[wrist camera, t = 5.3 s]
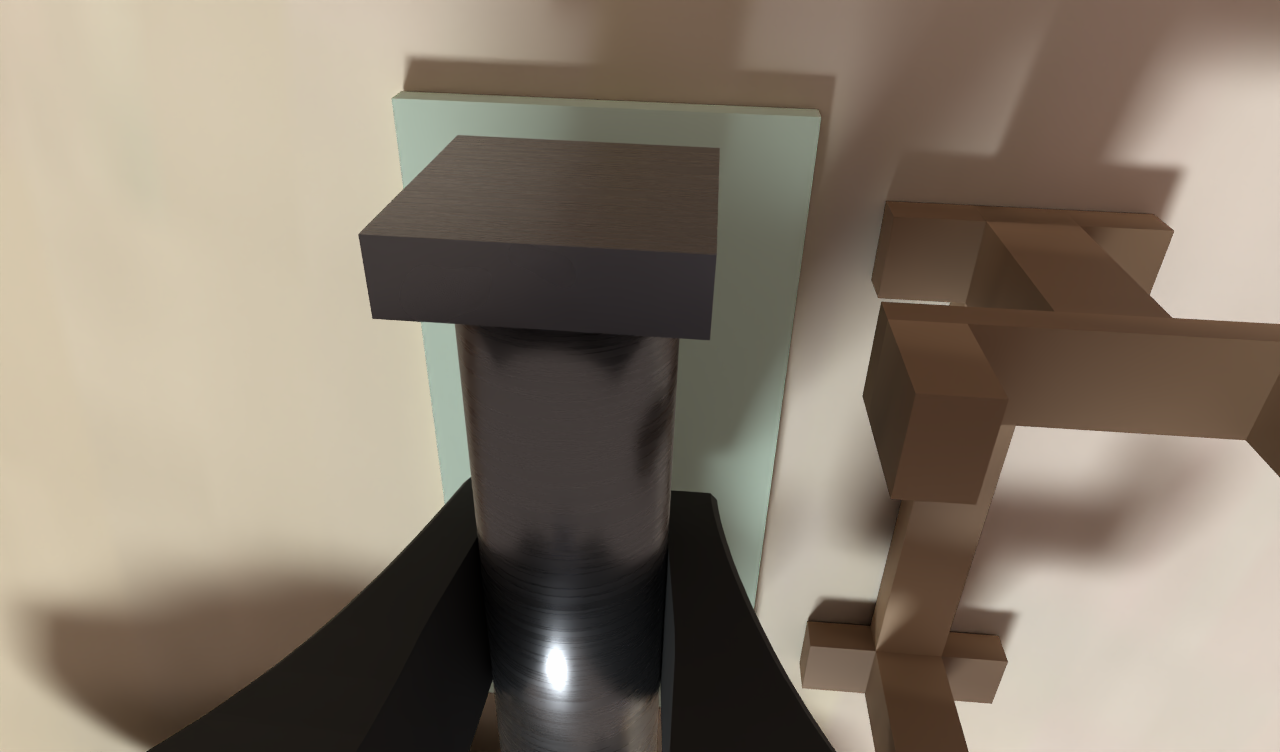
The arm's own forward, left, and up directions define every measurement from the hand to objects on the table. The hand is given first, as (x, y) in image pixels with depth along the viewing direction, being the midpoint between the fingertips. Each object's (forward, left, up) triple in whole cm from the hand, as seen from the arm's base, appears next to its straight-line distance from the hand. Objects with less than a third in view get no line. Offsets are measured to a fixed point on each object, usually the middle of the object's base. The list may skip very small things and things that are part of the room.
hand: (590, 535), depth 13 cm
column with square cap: (0, 0, 0) cm, 0 cm away
